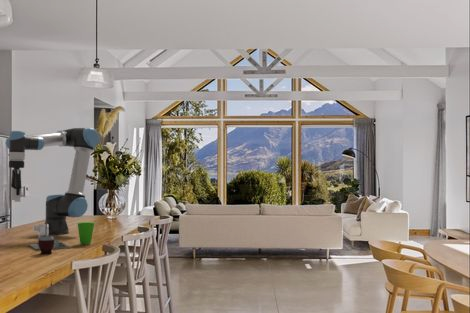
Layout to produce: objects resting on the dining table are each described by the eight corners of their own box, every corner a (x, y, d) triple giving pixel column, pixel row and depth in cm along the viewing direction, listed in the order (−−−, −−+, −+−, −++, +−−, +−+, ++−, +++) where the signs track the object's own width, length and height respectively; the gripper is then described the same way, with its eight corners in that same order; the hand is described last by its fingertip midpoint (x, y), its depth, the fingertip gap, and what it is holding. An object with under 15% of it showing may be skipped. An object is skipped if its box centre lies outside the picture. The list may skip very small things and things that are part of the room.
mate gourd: (47, 251, 256) (47, 220, 256) (58, 253, 252) (59, 221, 252) (34, 254, 249) (34, 221, 250) (45, 255, 245) (46, 222, 246)
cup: (97, 243, 286) (98, 222, 286) (87, 245, 277) (88, 224, 277) (83, 242, 289) (83, 221, 289) (72, 244, 280) (73, 223, 280)
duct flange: (61, 244, 281) (61, 237, 281) (69, 248, 268) (69, 241, 268) (29, 246, 273) (29, 239, 273) (35, 250, 259) (36, 243, 259)
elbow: (47, 242, 285) (47, 223, 285) (49, 244, 280) (49, 224, 281) (32, 243, 281) (32, 224, 281) (34, 245, 276) (34, 225, 277)
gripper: (6, 160, 293) (5, 199, 293) (12, 160, 272) (10, 202, 271) (21, 160, 297) (19, 199, 297) (27, 160, 275) (26, 202, 275)
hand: (15, 200), depth 284 cm, fingers open, 13 cm apart
